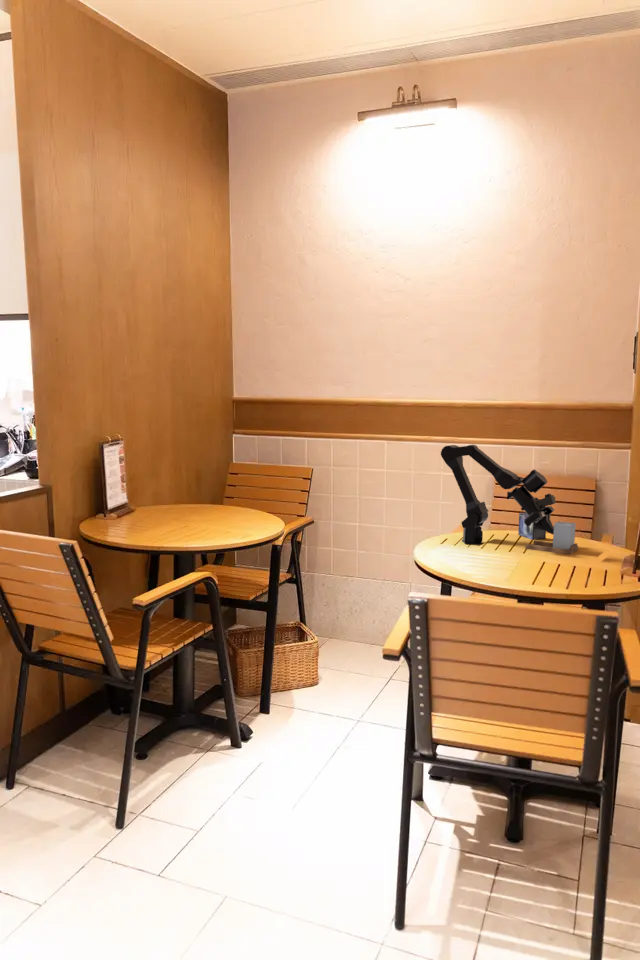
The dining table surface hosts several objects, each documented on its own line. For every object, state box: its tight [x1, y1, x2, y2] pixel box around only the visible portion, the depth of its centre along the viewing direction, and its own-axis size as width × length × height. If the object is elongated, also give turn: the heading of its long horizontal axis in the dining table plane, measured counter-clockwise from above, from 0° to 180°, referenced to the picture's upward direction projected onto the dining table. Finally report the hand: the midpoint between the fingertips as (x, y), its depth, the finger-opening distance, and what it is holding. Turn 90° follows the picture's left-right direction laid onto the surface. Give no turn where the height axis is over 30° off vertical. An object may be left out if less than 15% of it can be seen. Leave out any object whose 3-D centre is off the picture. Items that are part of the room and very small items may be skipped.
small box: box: [518, 512, 547, 541], centre depth 304 cm, size 11×6×10 cm, turn 17°
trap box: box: [524, 540, 579, 556], centre depth 281 cm, size 16×10×4 cm, turn 57°
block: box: [552, 521, 577, 550], centre depth 278 cm, size 6×6×10 cm
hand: (555, 534), depth 280 cm, fingers closed
